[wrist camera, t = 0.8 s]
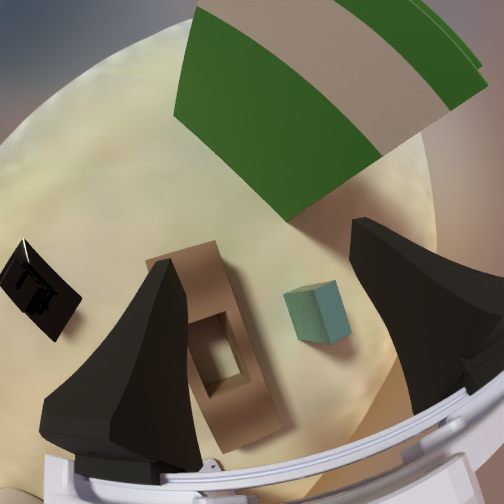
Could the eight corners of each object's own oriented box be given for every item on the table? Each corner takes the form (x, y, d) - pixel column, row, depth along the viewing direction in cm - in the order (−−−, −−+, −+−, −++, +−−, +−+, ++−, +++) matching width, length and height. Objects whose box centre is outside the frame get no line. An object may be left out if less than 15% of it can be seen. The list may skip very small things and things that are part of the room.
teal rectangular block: (316, 330, 28) (351, 332, 23) (298, 339, 27) (331, 344, 22) (302, 286, 29) (335, 280, 23) (282, 294, 28) (313, 289, 22)
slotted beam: (268, 415, 25) (283, 427, 21) (214, 438, 22) (223, 454, 19) (207, 248, 26) (215, 240, 23) (147, 266, 24) (145, 260, 21)
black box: (102, 302, 23) (90, 301, 18) (64, 361, 20) (47, 370, 16) (22, 224, 21) (3, 209, 17) (-12, 278, 18) (-35, 272, 14)
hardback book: (320, 183, 32) (481, 63, 10) (286, 222, 30) (488, 86, 7) (218, 89, 31) (295, -75, 8) (173, 115, 28) (230, -87, 6)
